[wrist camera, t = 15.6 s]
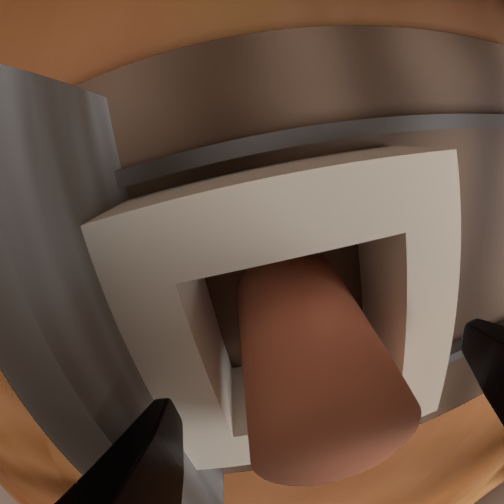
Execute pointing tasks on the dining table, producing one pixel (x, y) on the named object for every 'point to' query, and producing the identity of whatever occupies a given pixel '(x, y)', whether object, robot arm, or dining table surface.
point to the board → (212, 165)
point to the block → (275, 250)
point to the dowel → (316, 377)
